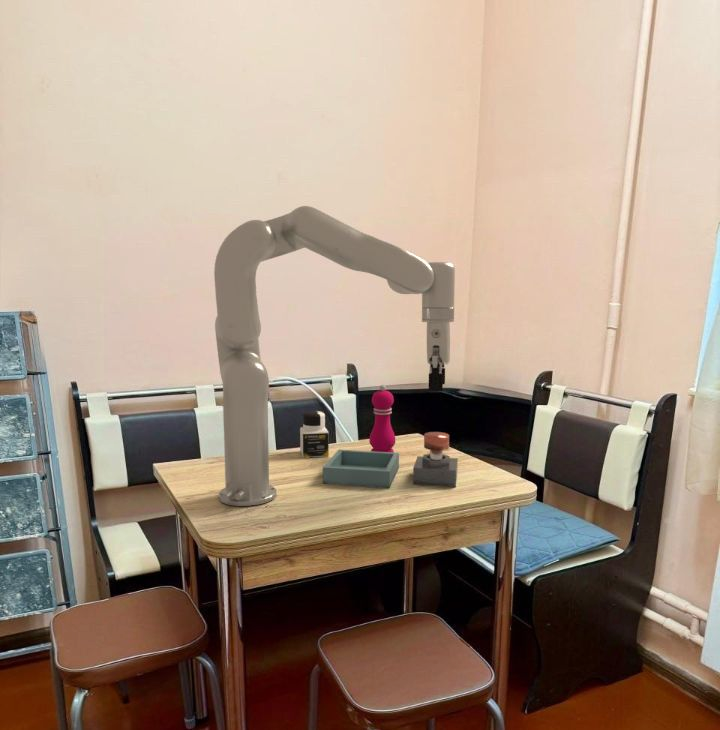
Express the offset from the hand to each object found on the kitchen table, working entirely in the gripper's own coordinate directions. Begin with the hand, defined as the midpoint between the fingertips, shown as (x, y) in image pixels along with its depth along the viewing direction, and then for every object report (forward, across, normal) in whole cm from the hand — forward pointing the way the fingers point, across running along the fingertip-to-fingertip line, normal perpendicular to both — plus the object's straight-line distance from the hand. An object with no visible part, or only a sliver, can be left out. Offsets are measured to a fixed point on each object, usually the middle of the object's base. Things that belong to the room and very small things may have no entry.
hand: (437, 387), depth 139 cm
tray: (+22, -1, +18) cm, 29 cm away
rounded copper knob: (+23, 0, 0) cm, 23 cm away
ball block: (+23, 0, 0) cm, 23 cm away
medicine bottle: (+23, +15, +35) cm, 44 cm away
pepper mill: (+23, +17, +16) cm, 33 cm away
